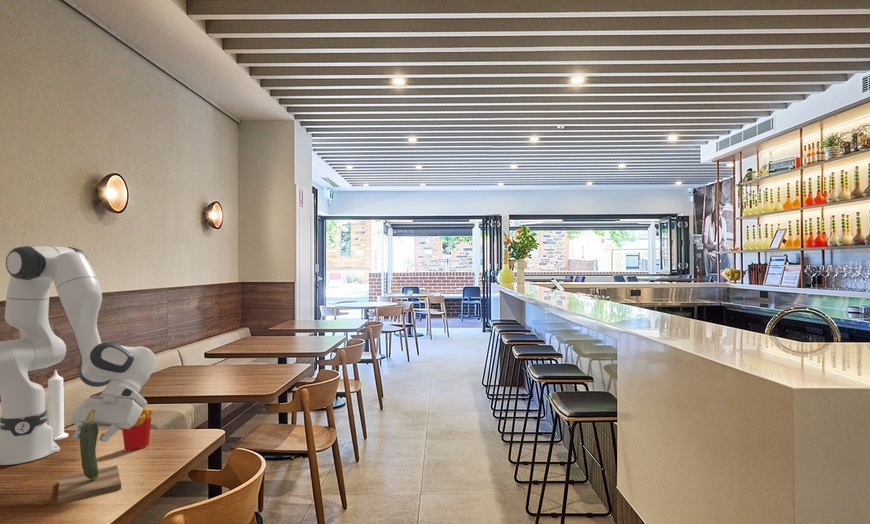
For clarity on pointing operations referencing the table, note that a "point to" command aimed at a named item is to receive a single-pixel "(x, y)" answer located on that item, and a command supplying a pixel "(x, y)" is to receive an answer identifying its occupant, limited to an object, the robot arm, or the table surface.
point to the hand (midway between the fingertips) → (89, 439)
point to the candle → (56, 406)
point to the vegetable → (89, 446)
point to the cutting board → (88, 484)
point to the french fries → (138, 431)
